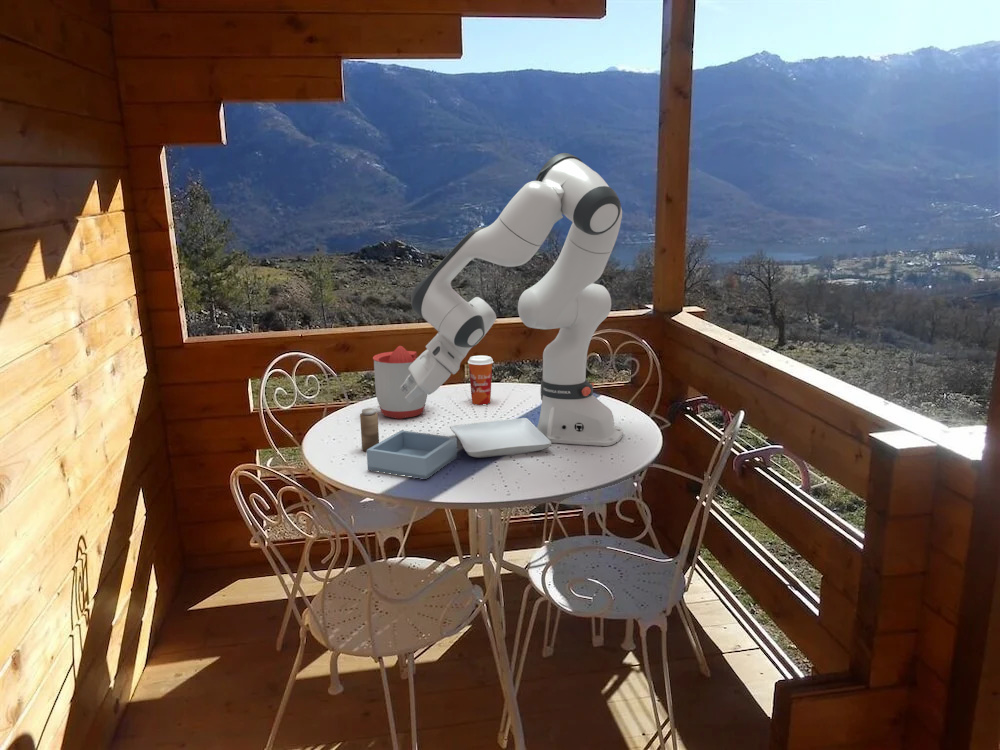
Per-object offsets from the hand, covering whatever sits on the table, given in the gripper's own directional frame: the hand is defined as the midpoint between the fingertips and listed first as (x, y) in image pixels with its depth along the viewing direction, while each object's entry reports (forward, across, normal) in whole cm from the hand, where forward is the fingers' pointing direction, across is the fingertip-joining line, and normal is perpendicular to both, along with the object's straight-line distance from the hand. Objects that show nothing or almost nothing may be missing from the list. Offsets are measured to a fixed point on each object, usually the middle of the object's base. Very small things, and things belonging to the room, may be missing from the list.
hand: (404, 395), depth 166 cm
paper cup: (-10, -34, +29) cm, 45 cm away
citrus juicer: (+7, -30, +12) cm, 33 cm away
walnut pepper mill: (+16, -1, +3) cm, 16 cm away
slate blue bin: (+9, +12, +9) cm, 18 cm away
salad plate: (-6, +4, +26) cm, 27 cm away
